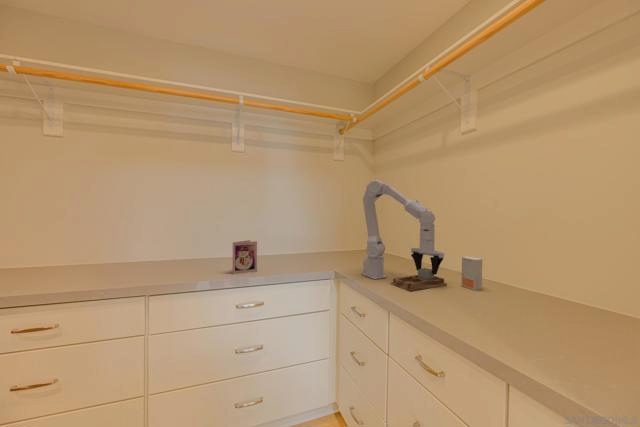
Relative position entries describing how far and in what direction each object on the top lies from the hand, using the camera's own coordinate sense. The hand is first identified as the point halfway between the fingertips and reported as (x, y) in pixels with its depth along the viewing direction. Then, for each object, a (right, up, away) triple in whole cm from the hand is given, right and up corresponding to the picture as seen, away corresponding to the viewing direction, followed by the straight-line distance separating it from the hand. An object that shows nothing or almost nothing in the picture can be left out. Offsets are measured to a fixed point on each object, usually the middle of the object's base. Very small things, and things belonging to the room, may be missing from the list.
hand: (426, 272), depth 109 cm
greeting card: (-82, -4, +19) cm, 84 cm away
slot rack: (-4, -5, -2) cm, 7 cm away
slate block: (0, -4, 0) cm, 4 cm away
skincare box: (+16, -5, -6) cm, 17 cm away
